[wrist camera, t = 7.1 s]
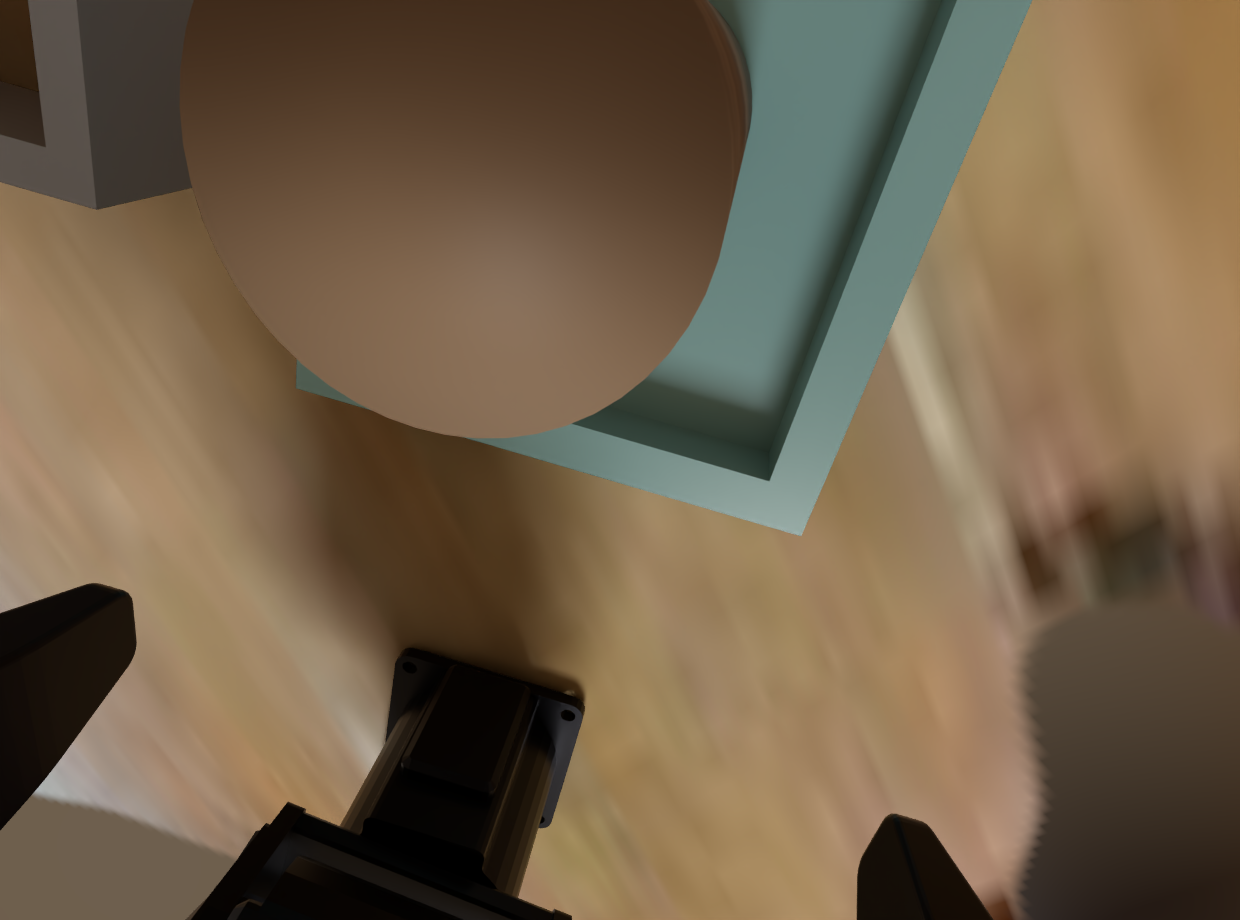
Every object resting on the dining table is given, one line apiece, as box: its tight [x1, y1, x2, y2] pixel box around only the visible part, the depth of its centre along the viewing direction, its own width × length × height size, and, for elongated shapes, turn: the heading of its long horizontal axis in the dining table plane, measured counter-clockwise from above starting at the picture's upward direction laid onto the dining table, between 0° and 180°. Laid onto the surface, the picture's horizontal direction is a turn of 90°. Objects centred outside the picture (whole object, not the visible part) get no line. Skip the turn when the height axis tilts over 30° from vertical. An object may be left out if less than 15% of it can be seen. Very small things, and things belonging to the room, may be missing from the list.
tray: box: [296, 0, 1032, 536], centre depth 16 cm, size 16×13×2 cm
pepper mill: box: [180, 0, 752, 438], centre depth 12 cm, size 5×5×11 cm
